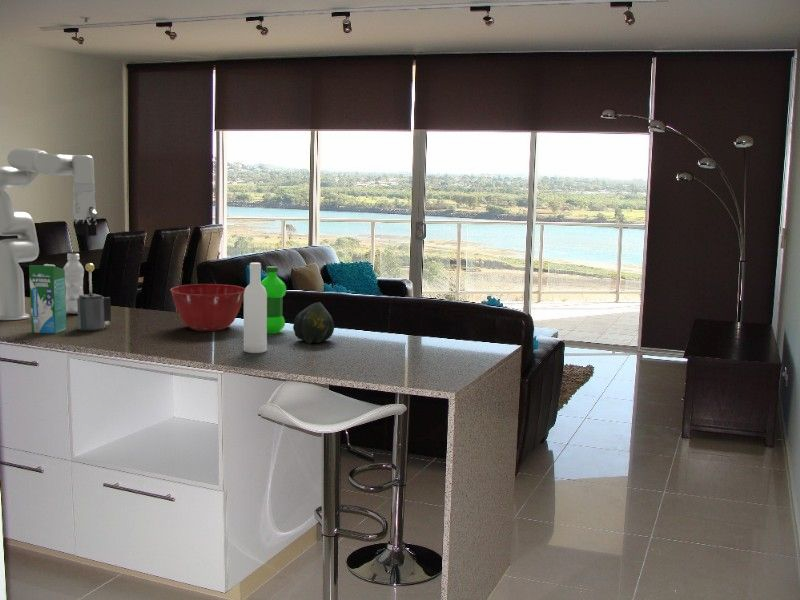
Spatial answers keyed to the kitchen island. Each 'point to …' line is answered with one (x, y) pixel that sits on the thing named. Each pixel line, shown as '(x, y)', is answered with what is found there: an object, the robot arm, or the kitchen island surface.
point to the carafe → (93, 312)
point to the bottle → (255, 313)
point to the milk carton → (47, 299)
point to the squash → (314, 324)
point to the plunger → (90, 268)
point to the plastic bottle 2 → (274, 300)
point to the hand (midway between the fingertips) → (86, 235)
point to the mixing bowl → (208, 305)
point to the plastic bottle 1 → (73, 282)
